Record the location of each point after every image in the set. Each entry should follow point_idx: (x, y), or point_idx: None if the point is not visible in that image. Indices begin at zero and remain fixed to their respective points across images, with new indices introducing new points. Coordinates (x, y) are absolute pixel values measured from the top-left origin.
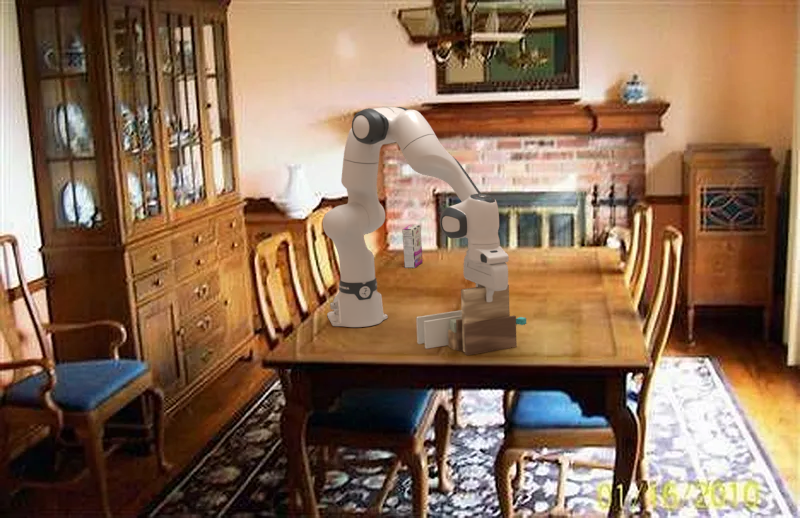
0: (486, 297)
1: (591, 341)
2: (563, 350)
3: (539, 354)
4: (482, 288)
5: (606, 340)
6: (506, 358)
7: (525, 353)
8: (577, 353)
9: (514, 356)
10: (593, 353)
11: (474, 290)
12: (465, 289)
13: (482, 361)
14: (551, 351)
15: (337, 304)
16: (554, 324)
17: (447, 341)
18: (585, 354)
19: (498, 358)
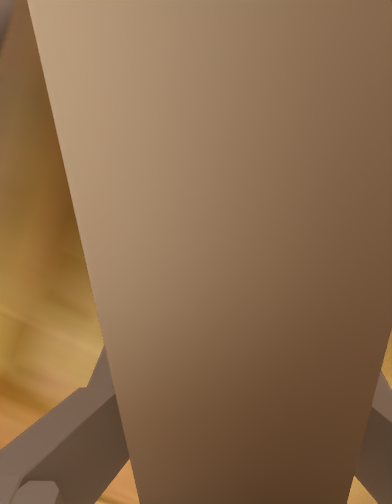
0: (101, 371)
1: (130, 472)
2: (72, 387)
3: (54, 314)
4: (139, 494)
5: (122, 495)
6: (41, 186)
7: (84, 281)
8: (28, 401)
9: (59, 228)
10: (15, 428)
11: (110, 309)
12: (310, 43)
13: (26, 55)
14: (75, 357)
15: None
16: (351, 484)
17: None
18: (11, 411)
19: (52, 154)
